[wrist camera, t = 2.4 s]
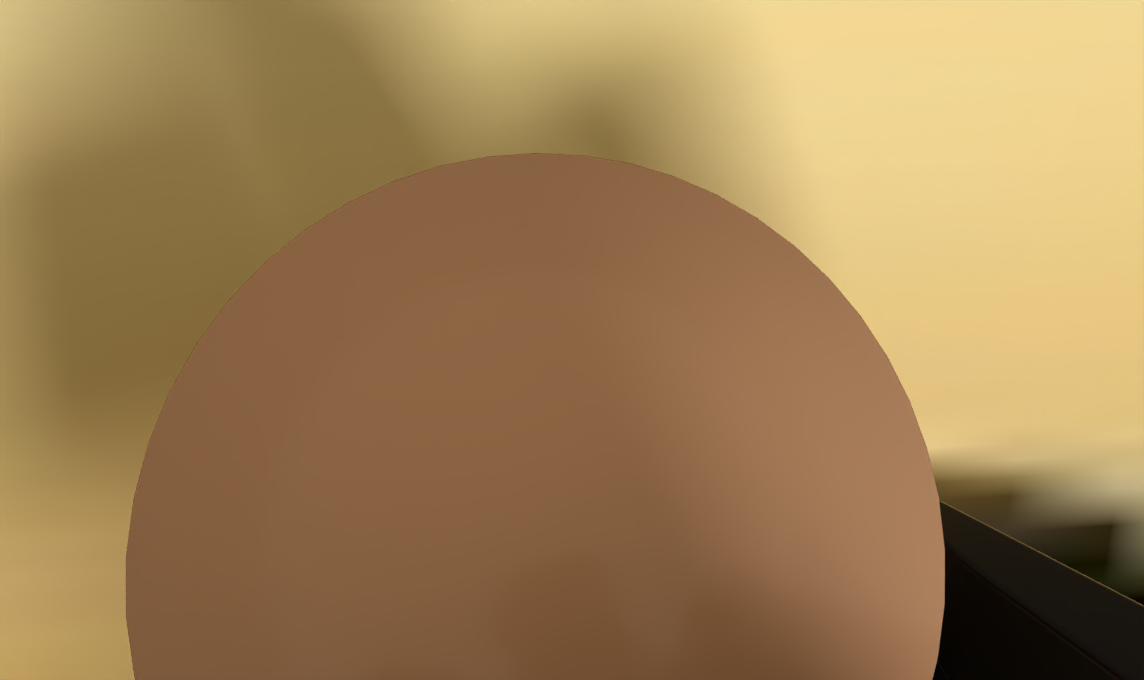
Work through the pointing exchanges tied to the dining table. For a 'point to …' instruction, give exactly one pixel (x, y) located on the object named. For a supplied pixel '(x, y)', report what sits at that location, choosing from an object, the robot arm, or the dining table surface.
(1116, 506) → the dining table surface
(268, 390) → the cargo canister
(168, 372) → the dining table surface
